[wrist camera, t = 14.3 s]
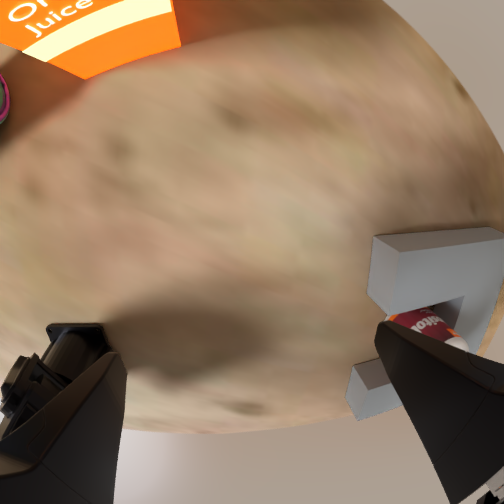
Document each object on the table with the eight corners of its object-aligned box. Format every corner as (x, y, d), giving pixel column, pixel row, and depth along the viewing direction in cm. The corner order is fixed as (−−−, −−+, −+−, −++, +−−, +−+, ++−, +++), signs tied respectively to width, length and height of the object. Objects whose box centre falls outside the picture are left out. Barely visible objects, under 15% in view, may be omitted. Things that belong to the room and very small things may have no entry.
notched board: (345, 397, 30) (357, 421, 26) (373, 236, 23) (399, 252, 19) (450, 359, 32) (465, 375, 28) (489, 226, 25) (513, 237, 21)
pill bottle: (430, 295, 26) (496, 352, 16) (412, 342, 28) (466, 402, 18) (387, 299, 25) (456, 369, 15) (370, 349, 27) (422, 423, 17)
